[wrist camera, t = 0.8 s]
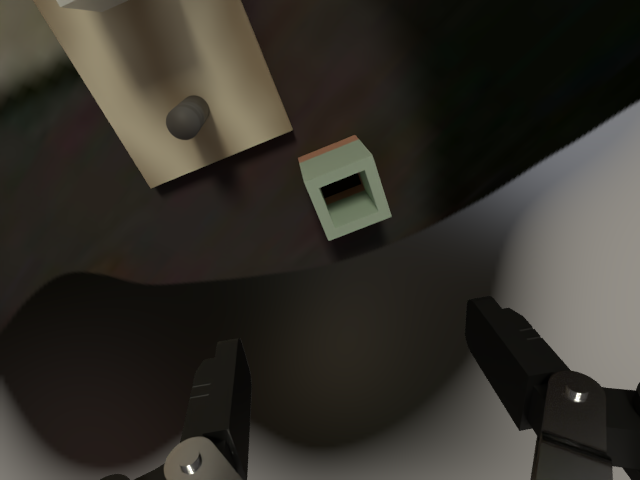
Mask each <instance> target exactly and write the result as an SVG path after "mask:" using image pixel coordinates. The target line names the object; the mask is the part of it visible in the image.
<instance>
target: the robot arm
mask: <svg viewBox="0 0 640 480" xmlns="http://www.w3.org/2000/svg"><path fill="white" fill-rule="evenodd" d="M465 338H466V342H467V345H468V348H469V350H470V352H471V353H472V355H473V357H474V358H475V360H476V362H477V363H478V365H479V366H480V368H481V370H482V371H483V373H484V374H485V376H486V378H487V379H488V381H489V382H490V384H491V386H492V387H493V389H494V390H495V392H496V393H497V395H498V397H499V399H500V400H501V402H502V403H503V405H504V407H505V408H506V410H507V411H508V413H509V415H510V416H511V418H512V420H513V421H514V423H515V424H516V426H517V427H518V429H519V431H521V430H526V429H531V428H533V430H534V431H535V433H536V435H537V440H536V446H535V453H534V460H533V467H532V473H531V480H613V477H612V466H616V467H622V468H623V469H624V470H625V472H626V473H627V475H628V476H629V477H630V479H631V480H640V383H639V384H638V386H637V389H636V391H633V390H623V389H612V388H604V387H601V386H600V385H599V384H598V383H597V382H596V381H595V380H593V379H592V378H590V377H588V376H586V375H584V374H582V373H579V372H574V371H571V370H570V369H569V368H568V367H567V366H566V365H565V364H564V362H563V361H562V360H561V359H560V358H559V357H558V356H557V354H556V353H555V352H554V351H553V350H552V349H551V347H550V346H549V345H548V344H547V343H546V342H545V341H544V340H543V338H541V337H540V335H539V334H538V333H537V332H536V330H535V329H533V328H532V326H531V325H530V324H529V323H528V321H527V320H526V319H525V318H524V317H523V316H522V315H520V314H518V313H517V312H515V311H513V310H512V309H510V308H505V309H502V308H501V307H500V306H499V305H498V303H497V302H496V301H495V300H494V299H493V298H492V297H491V296H487V297H481V298H475V299H469V300H468V301H467V308H466V324H465ZM251 383H252V382H251V374H250V369H249V366H248V362H247V359H246V355H245V352H244V348H243V345H242V342H241V339H240V338H238V339H232V340H226V341H220V342H218V343H217V348H216V353H215V358H212V359H206V360H204V361H203V362H202V364H201V365H200V367H199V368H198V369H197V371H196V372H195V377H194V382H193V388H192V391H191V395H190V400H189V405H188V410H187V414H186V419H185V423H184V428H183V432H182V437H181V441H180V444H178V445H177V446H176V447H175V448H174V449H173V450H172V451H171V452H170V454H169V455H168V457H167V459H166V461H165V463H164V464H163V465H161V466H160V467H158V468H157V469H155V470H153V471H151V472H149V473H147V474H145V475H143V476H141V477H139V478H137V479H135V480H247V470H248V469H247V468H248V451H249V432H250V412H251V392H252V384H251ZM100 480H130V479H129V478H128V477H127V476H124V475H121V474H114V475H110V476H107V477H104V478H102V479H100Z"/></svg>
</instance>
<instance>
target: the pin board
mask: <svg viewBox="0 0 640 480" xmlns="http://www.w3.org/2000/svg"><path fill="white" fill-rule="evenodd" d="M33 1H34V3H35V4H36V6H37V7H38V9H39V11H40V12H41V14H42V15H43V17H44V19H45V20H46V22H47V23H48V25H49V27H50V28H51V30H52V31H53V33H54V35H55V36H56V38H57V39H58V41H59V43H60V44H61V46H62V47H63V49H64V51H65V52H66V54H67V55H68V57H69V58H70V60H71V62H72V63H73V65H74V66H75V68H76V70H77V71H78V73H79V74H80V76H81V78H82V79H83V81H84V82H85V84H86V86H87V87H88V89H89V90H90V92H91V94H92V95H93V97H94V98H95V100H96V102H97V103H98V105H99V106H100V108H101V110H102V111H103V113H104V114H105V116H106V118H107V119H108V121H109V122H110V124H111V126H112V127H113V129H114V130H115V132H116V134H117V135H118V137H119V138H120V140H121V142H122V143H123V145H124V146H125V148H126V150H127V151H128V153H129V154H130V156H131V158H132V159H133V161H134V162H135V164H136V166H137V167H138V169H139V170H140V172H141V174H142V175H143V177H144V178H145V180H146V181H147V183H148V185H149V186H150V188H153V187H156V186H158V185H160V184H163V183H165V182H168V181H170V180H173V179H175V178H177V177H180V176H182V175H185V174H187V173H190V172H192V171H195V170H197V169H199V168H202V167H204V166H207V165H209V164H212V163H214V162H217V161H219V160H221V159H224V158H226V157H229V156H231V155H234V154H236V153H238V152H241V151H243V150H246V149H248V148H251V147H253V146H256V145H258V144H260V143H263V142H265V141H268V140H270V139H273V138H275V137H278V136H280V135H282V134H285V133H287V132H290V131H292V130H293V129H292V126H291V123H290V121H289V118H288V116H287V113H286V111H285V108H284V106H283V103H282V101H281V98H280V96H279V93H278V91H277V88H276V86H275V84H274V81H273V79H272V76H271V74H270V71H269V69H268V66H267V64H266V61H265V59H264V56H263V54H262V51H261V49H260V46H259V44H258V41H257V39H256V36H255V34H254V31H253V29H252V27H251V24H250V22H249V19H248V17H247V14H246V12H245V9H244V7H243V4H242V2H241V0H128V1H126V2H124V3H122V4H119V5H117V6H115V7H113V8H110V9H108V10H106V11H104V12H97V11H88V10H80V9H71V8H62V7H60V6H59V4H58V3H57V1H56V0H33Z"/></svg>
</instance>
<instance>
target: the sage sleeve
mask: <svg viewBox="0 0 640 480" xmlns="http://www.w3.org/2000/svg"><path fill="white" fill-rule="evenodd" d="M298 160H299V164H300V168H301V172H302V176H303V180H304V183H305V186H306V188H307V190H308V193H309V195H310V198H311V200H312V202H313V205H314V207H315V210H316V212H317V214H318V217H319V219H320V222H321V224H322V226H323V229H324V231H325V234H326V236H327V238H328V241H330V240H333V239H335V238H338V237H341V236H343V235H346V234H348V233H351V232H353V231H356V230H359V229H361V228H364V227H366V226H369V225H371V224H374V223H377V222H379V221H382V220H384V219H387V218H389V217H392V216H391V213H390V210H389V207H388V203H387V200H386V197H385V194H384V191H383V187H382V184H381V181H380V178H379V175H378V172H377V168H376V165H375V162H374V159H373V156H372V154H371V153H370V152H369V151H368V149H367V148H366V147H365V146H364V145H363V144H362V142H361V141H360V140H359V139H358V138H357V137H356V135H353V136H351V137H349V138H346V139H344V140H341V141H339V142H336V143H334V144H331V145H329V146H326V147H324V148H321V149H319V150H316V151H314V152H311V153H309V154H307V155H304V156H302V157H299V158H298ZM356 173H358V176H359V179H360V182H361V184H360V185H357V186H355V187H352V188H350V189H347V190H345V191H342V192H340V193H337V194H335V195H332V196H329V197H327V198H324V196H323V193H322V191H321V187H323V186H326V185H328V184H331V183H333V182H336V181H338V180H341V179H343V178H346V177H348V176H351V175H353V174H356Z"/></svg>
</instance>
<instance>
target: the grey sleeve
mask: <svg viewBox="0 0 640 480" xmlns="http://www.w3.org/2000/svg"><path fill="white" fill-rule="evenodd" d="M56 1H57V3H58V4H59V6H60V7H62V8H71V9H80V10H88V11H97V12H104V11H106V10H108V9H110V8H113V7H115V6H117V5H119V4H122V3H124V2H126V1H128V0H56Z"/></svg>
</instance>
